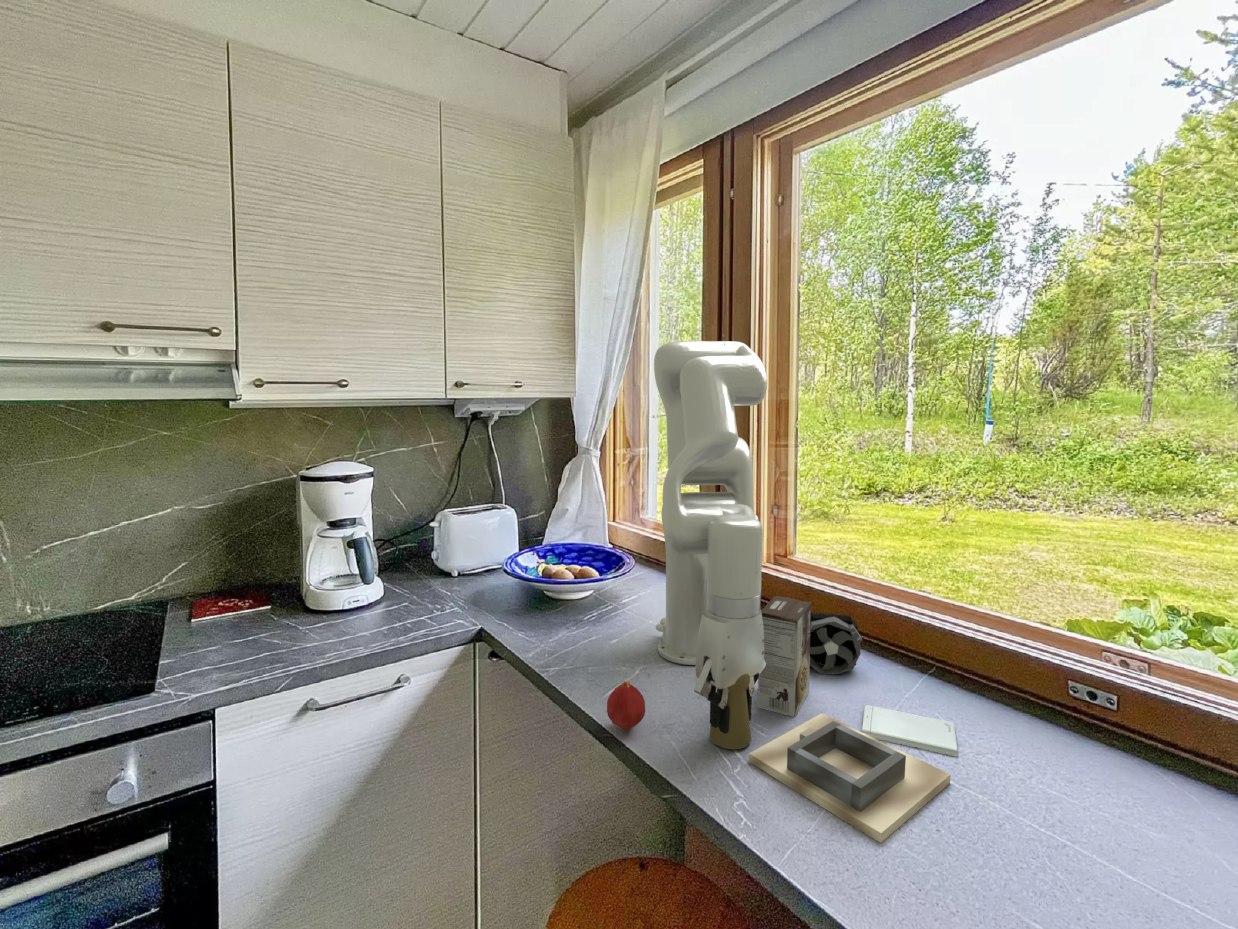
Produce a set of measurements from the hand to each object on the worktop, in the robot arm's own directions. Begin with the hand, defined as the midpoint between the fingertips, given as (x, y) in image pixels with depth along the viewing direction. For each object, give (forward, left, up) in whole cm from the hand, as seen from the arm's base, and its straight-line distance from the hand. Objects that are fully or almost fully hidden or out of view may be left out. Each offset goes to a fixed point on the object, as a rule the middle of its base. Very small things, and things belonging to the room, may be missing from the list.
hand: (730, 721), depth 87 cm
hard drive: (+15, +23, -4) cm, 27 cm away
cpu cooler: (-4, +32, -3) cm, 32 cm away
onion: (-11, -10, -3) cm, 16 cm away
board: (+15, +7, -3) cm, 16 cm away
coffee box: (-2, +16, -3) cm, 16 cm away
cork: (0, 0, -3) cm, 3 cm away
